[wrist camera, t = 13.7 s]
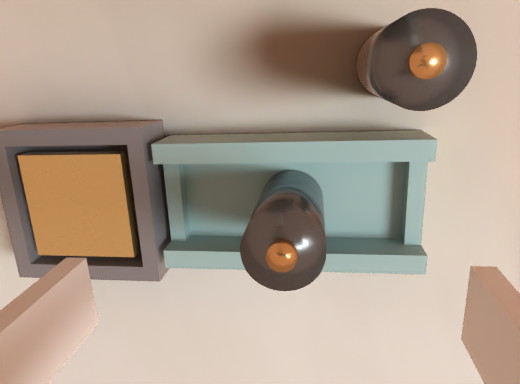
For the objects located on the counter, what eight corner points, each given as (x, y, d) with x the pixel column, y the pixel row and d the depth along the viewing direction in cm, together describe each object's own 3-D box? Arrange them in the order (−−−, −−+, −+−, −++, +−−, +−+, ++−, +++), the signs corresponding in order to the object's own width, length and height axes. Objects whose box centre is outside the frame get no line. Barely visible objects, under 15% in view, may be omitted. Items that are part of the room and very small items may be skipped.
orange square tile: (28, 152, 27) (17, 155, 26) (127, 150, 26) (120, 154, 25) (47, 248, 28) (38, 255, 28) (140, 250, 28) (134, 257, 27)
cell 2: (357, 29, 24) (378, 9, 16) (428, 25, 24) (488, 2, 15) (355, 98, 25) (374, 113, 17) (423, 96, 25) (476, 111, 16)
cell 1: (259, 170, 26) (234, 216, 18) (322, 168, 26) (325, 215, 18) (263, 228, 27) (240, 297, 19) (323, 228, 27) (327, 298, 19)
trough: (171, 134, 27) (151, 144, 24) (421, 130, 25) (437, 139, 22) (182, 245, 30) (165, 267, 26) (412, 249, 27) (425, 274, 24)
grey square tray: (24, 123, 29) (-14, 130, 25) (162, 120, 27) (141, 127, 24) (51, 254, 31) (19, 277, 28) (176, 257, 30) (159, 281, 27)
